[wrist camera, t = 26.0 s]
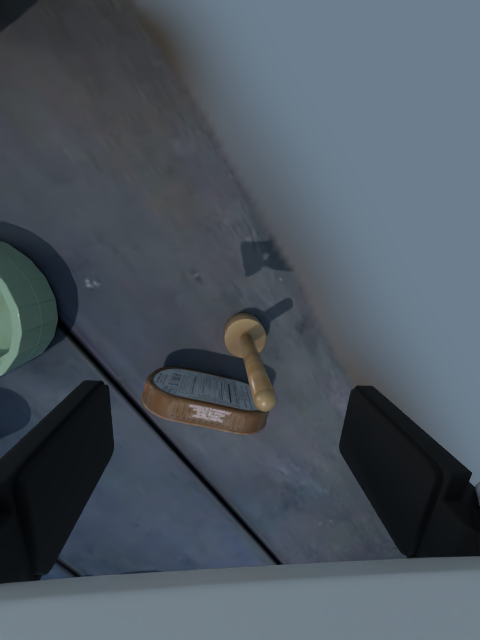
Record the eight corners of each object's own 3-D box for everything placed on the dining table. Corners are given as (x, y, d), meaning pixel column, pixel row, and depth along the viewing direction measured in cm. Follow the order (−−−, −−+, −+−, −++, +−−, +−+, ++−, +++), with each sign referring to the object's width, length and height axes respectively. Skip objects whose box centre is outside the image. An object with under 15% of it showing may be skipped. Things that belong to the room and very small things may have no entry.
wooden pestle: (219, 319, 31) (218, 384, 15) (256, 308, 31) (295, 361, 15) (230, 353, 32) (240, 447, 16) (266, 343, 32) (311, 426, 16)
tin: (152, 377, 32) (129, 419, 24) (157, 356, 31) (135, 391, 23) (258, 400, 34) (271, 445, 26) (265, 381, 33) (280, 421, 25)
